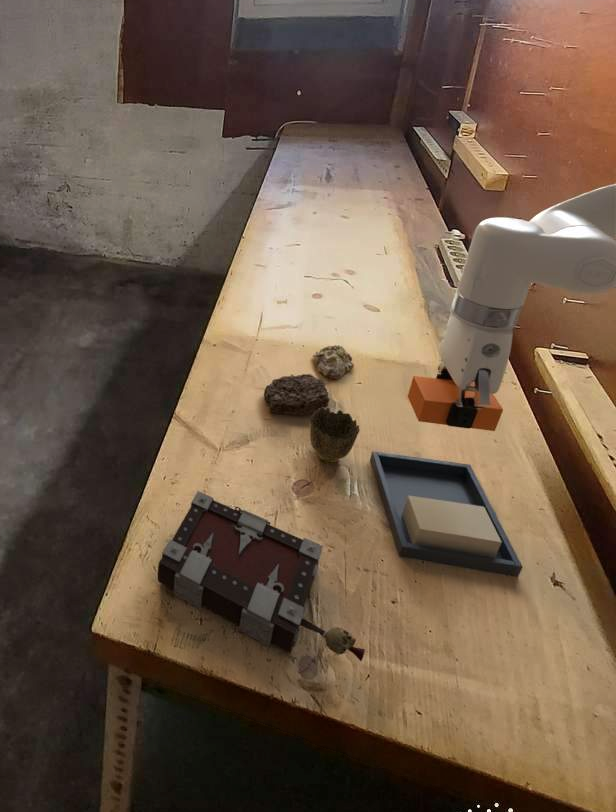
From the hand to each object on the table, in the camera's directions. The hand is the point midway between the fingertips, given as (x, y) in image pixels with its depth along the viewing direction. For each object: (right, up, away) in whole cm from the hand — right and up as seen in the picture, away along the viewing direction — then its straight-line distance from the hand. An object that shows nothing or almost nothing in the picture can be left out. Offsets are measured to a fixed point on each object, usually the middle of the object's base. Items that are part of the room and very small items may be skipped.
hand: (450, 409), depth 85 cm
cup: (-13, -11, +12) cm, 21 cm away
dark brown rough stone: (-14, -5, +25) cm, 29 cm away
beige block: (-3, -18, -3) cm, 18 cm away
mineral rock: (-2, 0, +35) cm, 35 cm away
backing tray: (-2, -16, +1) cm, 16 cm away
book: (-31, -22, -9) cm, 39 cm away
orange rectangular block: (0, -1, 0) cm, 1 cm away
